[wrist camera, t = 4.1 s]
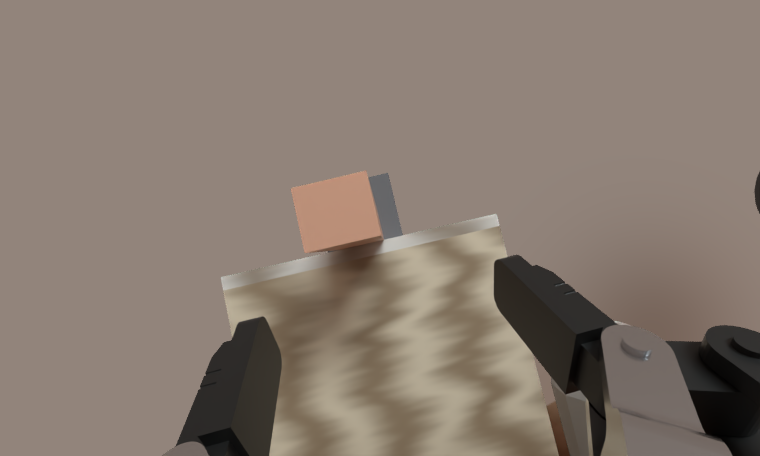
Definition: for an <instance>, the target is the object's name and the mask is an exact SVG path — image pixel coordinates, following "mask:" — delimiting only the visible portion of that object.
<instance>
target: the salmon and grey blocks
mask: <svg viewBox="0 0 760 456" xmlns="http://www.w3.org/2000/svg"><path fill="white" fill-rule="evenodd" d="M291 191H292V196H293V201H294V205H295V210H296V214H297V219H298V224H299V228H300V233H301V238H302V242H303V247H304V252H305V253H311V252H323V251H328V253H329V252H333V251H337V250H342V249H346V248H350V247H355V246H359V245H363V244H368V243H372V242H376V241H381V240H385V239H389V238H394V237H398V236H402V235H403V234H402V230H401V227H400V222H399V218H398V213H397V209H396V205H395V201H394V196H393V192H392V188H391V184H390V180H389V175H388V173H386V174H381V175H377V176H373V177H368V175H367V171H362V172H358V173H353V174H349V175H345V176H341V177H336V178H332V179H328V180H324V181H320V182H315V183H311V184H307V185H302V186H298V187H294V188H291Z"/></svg>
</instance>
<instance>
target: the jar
mask: <svg viewBox="0 0 760 456" xmlns="http://www.w3.org/2000/svg"><path fill="white" fill-rule="evenodd" d="M614 322H615V323H617V324H618V325H627V324H625V323H622V322H618V321H614ZM630 326H631V325H630ZM551 384H552V388H553V392H554V396H555V400H556V404H557V408H558V411H559V415H560V419H561V423H562V427H563V431H564V434H565V438H566V442H567V446H568V450H569V454H570V456H589V447H588V434H587V421H586V408H585V403H586V397H585V396H584V395H583V394H582V392H581V391H576V392H573V393H569V394H566V395H565V394H564V392H563V391H562V390H561V389H560V387H559V386H558V385H557V383H556V382H555V381H554V380H553V378H552V377H551Z"/></svg>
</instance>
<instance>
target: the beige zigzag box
mask: <svg viewBox="0 0 760 456" xmlns="http://www.w3.org/2000/svg"><path fill="white" fill-rule="evenodd" d="M505 257H508V256H507V253H506V249H505V245H504V241H503V237H502V233H501V229H500V225H499V222H498V218H497V214H494V215H489V216H485V217H481V218H476V219H472V220H468V221H463V222H459V223H455V224H450V225H446V226H442V227H437V228H433V229H429V230H424V231H420V232H416V233H411V234H407V235H402V236H398V237H394V238H389V239H385V240H381V241H376V242H372V243H368V244H363V245H359V246H355V247H350V248H346V249H342V250H337V251H333V252H329V253H325V254H320V255H316V256H312V257H307V258H303V259H298V260H294V261H290V262H285V263H281V264H277V265H273V266H268V267H264V268H259V269H255V270H251V271H247V272H242V273H238V274H233V275H229V276H225V277H221V281H222V286H223V292H224V297H225V302H226V307H227V312H228V317H229V322H230V328H231V333H232V338H233V335H234V332H235V329H236V326H237V324H238V323H239V322H241V321H245V320H249V319H253V318H258V317H262V316H263V317H265V318H266V320H267V322H268V324H269V326H270V329H271V331H272V333H273V335H274V338H275V340H276V342H277V344H278V347H279V349H280V353H281V358H282V369H281V376H280V383H279V390H278V397H277V404H276V411H275V418H274V425H273V432H272V439H271V446H270V453H269V456H559V454H558V450H557V446H556V442H555V438H554V435H553V431H552V427H551V423H550V419H549V415H548V411H547V407H546V404H545V400H544V396H543V392H542V389H541V384H540V380H539V377H538V373H537V369H536V365H535V361H534V357H533V353H532V352H531V351H530V349H529V348H528V347H527V345H526V344H525V343H524V342H523V340H522V339H521V338H520V337H519V335H518V334H517V333H516V332H515V330H514V329H513V328H512V326H511V325H510V324H509V323H508V321H507V320H506V319H505V318H504V316H503V315H502V314H501V313H500V311H499V309H498V308H497V305H496V303H495V300H494V262H495V260H497V259H501V258H505Z"/></svg>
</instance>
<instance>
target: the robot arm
mask: <svg viewBox="0 0 760 456" xmlns="http://www.w3.org/2000/svg"><path fill="white" fill-rule="evenodd" d="M755 202H756V205H757V209H758V211H759V213H760V172H759V175H758V177H757V180H756V185H755ZM494 300H495V303H496V305H497V308H498V309H499V311H500V313H501V314H502V315H503V316H504V318H505V319H506V320H507V321H508V323H509V324H510V325H511V326H512V328H513V329H514V330H515V332H516V333H517V334H518V335H519V337H520V338H521V339H522V340H523V342H524V343H525V344H526V345H527V347H528V348H529V349H530V351H531V352H532V353H533V354H534V356H535V357H536V358H537V359H538V361H539V362H540V363H541V364H542V366H543V367H544V368H545V370H546V371H547V372H548V373H549V375H550V376H551V377H552V378H553V380H554V381H555V382H556V383H557V385H558V386H559V387H560V389H561V390H562V391H563V392H564V394H565V395H566V394H569V393H573V392H576V391H581V392H582V394H583V395H584V396H585V397H586V403H585V408H586V421H587V434H588V447H589V456H760V333H758V332H756V331H752V330H749V329H745V328H741V327H736V326H727V325H724V326H715V327H712V328H710V329H708V331H707V332H706V334H705V336H704V339H703V341H702V342H684V341H664V340H662V339H661V338H660V337H658V336H657V335H655V334H653V333H651V332H649V331H647V330H644V329H642V328H639V327H635V326H630V325H618V324H617V323H615V322H614V321H613V320H612V319H610V318H609V317H608V316H607V315H605V314H604V313H602V312H601V311H600V310H599V309H598V308H596V307H595V306H594V305H593V304H592V303H590V302H589V301H588V300H587V299H585V298H584V297H583V296H582V295H580V294H579V293H578V292H575V290H574V289H573V288H572V287H571V286H569V285H568V284H565V282H564V281H563V280H562V279H561V278H559V277H558V276H557V275H556V274H554V273H553V272H551V271H549V270H547V269H545V268H542V267H540V266H538V265H535V266H531V265H530V264H529V263H528V262H527V261H526V260H524V259H523V258H522V257H521V256H519V255H514V256H510V257H505V258H501V259H497V260H495V262H494ZM281 369H282V358H281V353H280V349H279V347H278V344H277V342H276V340H275V338H274V335H273V333H272V331H271V329H270V326H269V324H268V322H267V320H266V318H265V317H263V316H262V317H258V318H253V319H249V320H245V321H241V322H239V323H238V324H237V326H236V329H235V332H234V335H233V338H232V340H231V341H227V342H224V343H223V344H222V345H221V347H220V348H219V349H218V351H217V352H216V353H215V354H214V355H213V357H212V359H211V361H210V363H209V366H208V368H207V371H206V376H204V378H203V380H202V383H201V385H200V387H201V389H200V390H198V393H197V395H196V398H195V400H194V403H193V405H192V408H191V410H190V413H189V415H188V417H187V420H186V422H185V425H184V427H183V430H182V432H181V435H180V437H179V440H178V442H177V444H176V446H175V447H174V448H172V449H171V450H169V451H168V452H166V453H165V454H164V455H162V456H269V453H270V446H271V439H272V432H273V425H274V418H275V411H276V404H277V397H278V390H279V383H280V376H281Z"/></svg>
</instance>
